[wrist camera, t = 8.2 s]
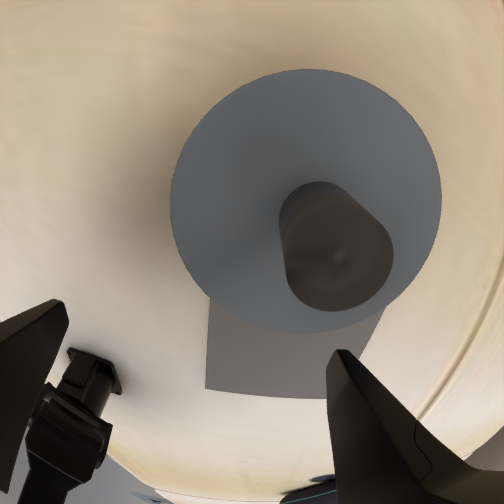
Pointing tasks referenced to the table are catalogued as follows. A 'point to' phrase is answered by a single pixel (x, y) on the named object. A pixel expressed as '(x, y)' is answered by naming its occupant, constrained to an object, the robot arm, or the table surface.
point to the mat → (275, 356)
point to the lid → (305, 201)
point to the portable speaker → (314, 495)
